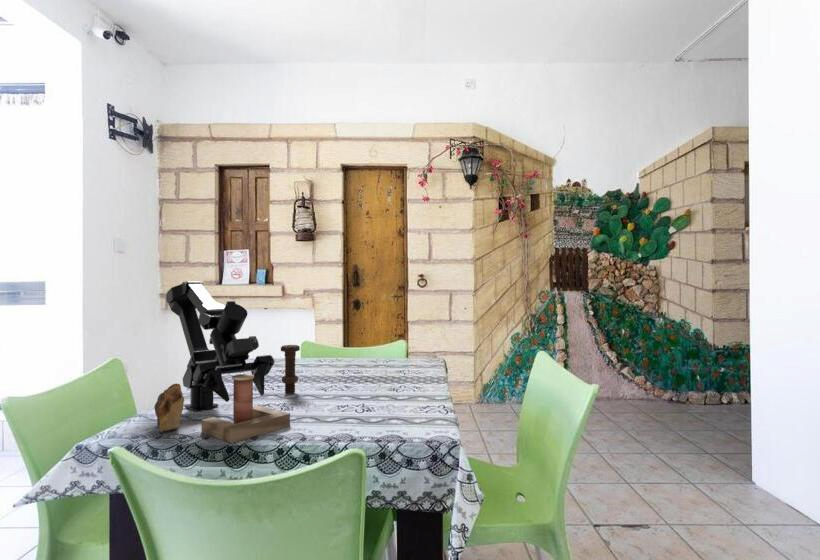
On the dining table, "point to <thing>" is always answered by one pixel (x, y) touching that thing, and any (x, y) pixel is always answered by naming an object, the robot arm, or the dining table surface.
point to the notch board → (247, 425)
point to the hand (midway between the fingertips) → (245, 397)
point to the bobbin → (242, 398)
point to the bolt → (290, 368)
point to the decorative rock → (169, 408)
